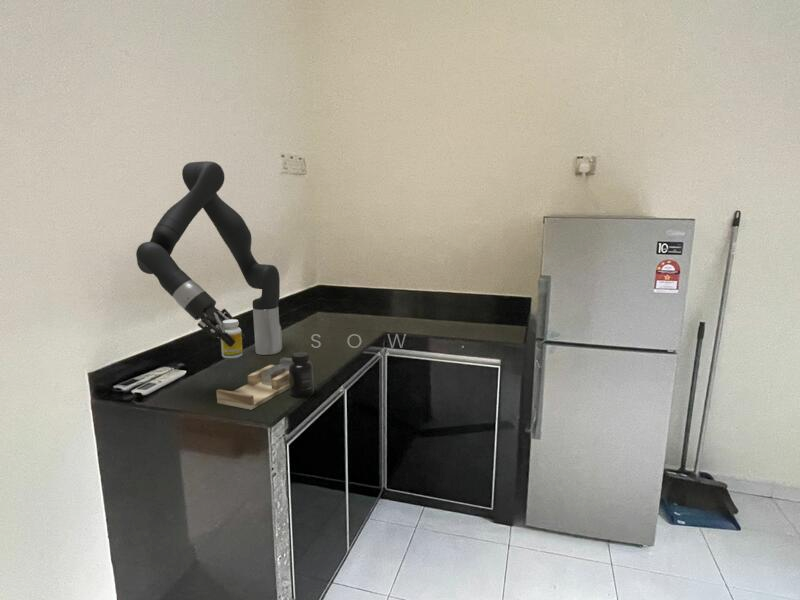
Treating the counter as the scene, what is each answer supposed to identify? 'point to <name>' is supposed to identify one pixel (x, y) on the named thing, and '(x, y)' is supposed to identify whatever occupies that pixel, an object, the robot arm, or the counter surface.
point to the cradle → (254, 391)
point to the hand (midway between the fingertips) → (237, 341)
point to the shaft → (276, 371)
